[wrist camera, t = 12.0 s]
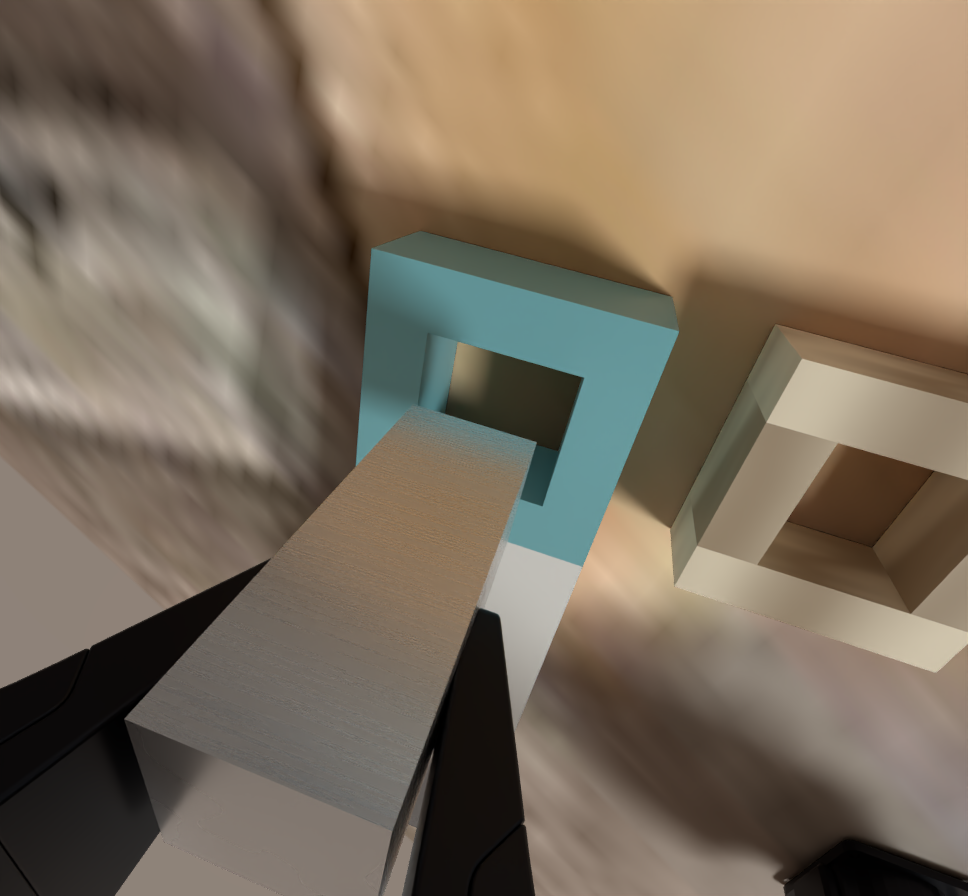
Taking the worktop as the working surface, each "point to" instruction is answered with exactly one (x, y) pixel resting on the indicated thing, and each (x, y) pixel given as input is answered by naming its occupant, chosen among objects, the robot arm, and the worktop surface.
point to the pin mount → (791, 469)
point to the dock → (537, 339)
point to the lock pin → (335, 668)
